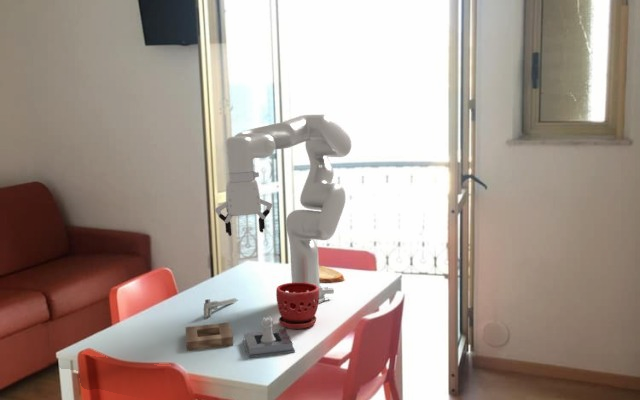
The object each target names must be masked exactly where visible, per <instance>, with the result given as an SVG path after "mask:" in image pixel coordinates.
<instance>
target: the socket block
mask: <svg viewBox="0 0 640 400" xmlns="http://www.w3.org/2000/svg"><path fill="white" fill-rule="evenodd" d="M184 329H185V338H186V339H185V340H186V349H187V351H196V350H205V349H212V348H220V347H229V346H234V337H233V333H232V330H231V325H230V322H223V323H221V322H220V323H213V324H204V325H203V324H202V325H194V326H185V328H184Z"/></svg>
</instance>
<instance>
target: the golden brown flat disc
mask: <svg viewBox="0 0 640 400" xmlns="http://www.w3.org/2000/svg"><path fill="white" fill-rule="evenodd" d="M345 281H346V279H345V277H344V275H343V274H342V272H339V271H338V270H335V269H333V268H329V267H326V266H323V265H320V264H319V282H320V283H323V284H336V283H342V282H345Z"/></svg>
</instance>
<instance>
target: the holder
mask: <svg viewBox="0 0 640 400" xmlns="http://www.w3.org/2000/svg"><path fill="white" fill-rule="evenodd" d="M272 332H273V335H274V337H275V339H276V341H275V342H271V343H263V344H261V338H262V336H263V331H257V332H248V333H243V334H244V339H243V340H242V342H243V346H244V350H245V352H246V356H247V359H252V358H258V357H267V356H275V355H283V354H290V353H291V354H293V353H296V350H295V348H294V346H293V341H292V340H291V338H290V336H289V334H288V332H287V329H285V328H284V329H274V330H273V329H272Z"/></svg>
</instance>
